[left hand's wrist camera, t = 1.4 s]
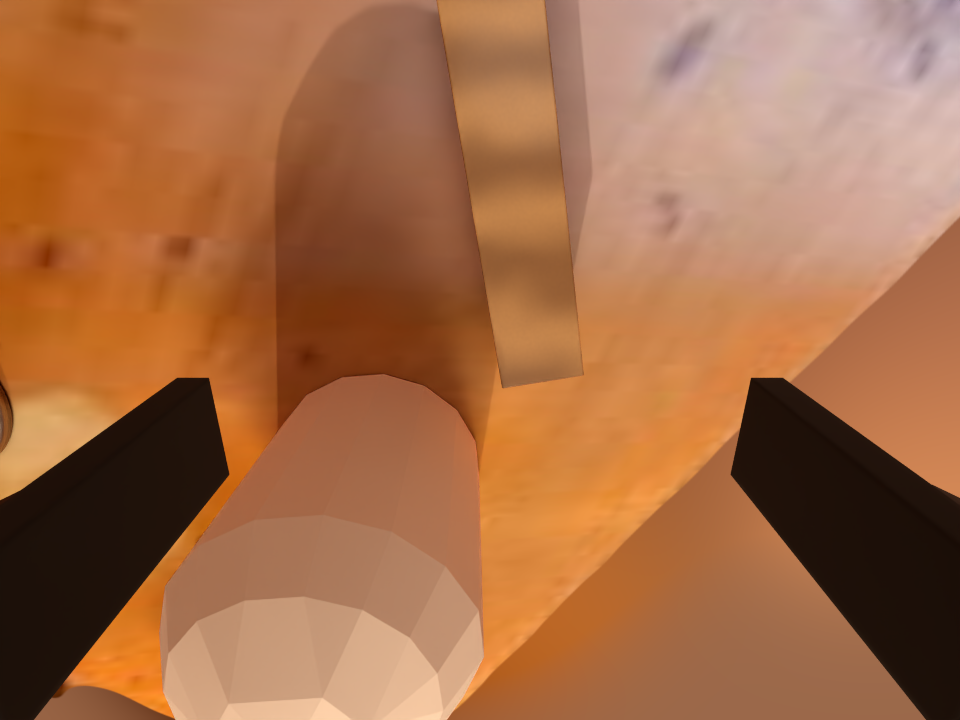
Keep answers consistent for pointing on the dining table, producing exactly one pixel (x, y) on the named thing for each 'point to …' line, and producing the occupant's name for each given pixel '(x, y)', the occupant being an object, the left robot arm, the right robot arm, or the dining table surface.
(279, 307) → the dining table surface
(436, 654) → the container
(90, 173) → the dining table surface
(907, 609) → the left robot arm
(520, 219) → the box
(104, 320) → the dining table surface
